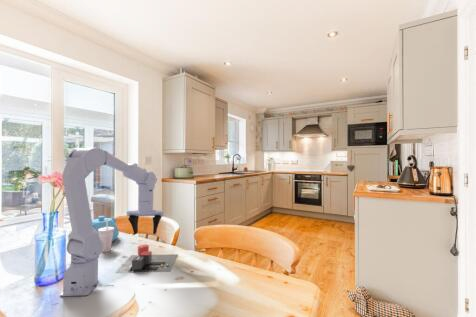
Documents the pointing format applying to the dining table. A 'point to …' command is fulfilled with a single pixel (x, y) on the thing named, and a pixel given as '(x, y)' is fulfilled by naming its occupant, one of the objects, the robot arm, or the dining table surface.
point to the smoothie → (106, 236)
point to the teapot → (102, 223)
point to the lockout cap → (142, 249)
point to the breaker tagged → (147, 256)
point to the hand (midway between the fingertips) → (145, 233)
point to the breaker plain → (137, 263)
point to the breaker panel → (150, 264)
